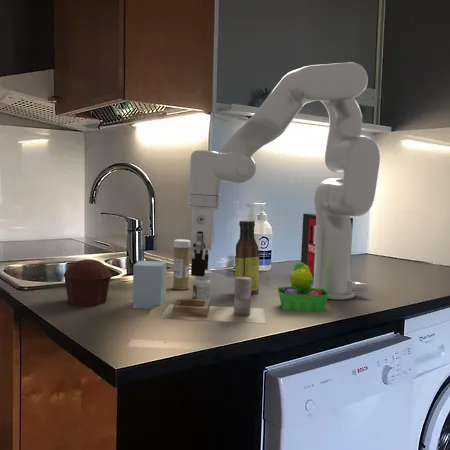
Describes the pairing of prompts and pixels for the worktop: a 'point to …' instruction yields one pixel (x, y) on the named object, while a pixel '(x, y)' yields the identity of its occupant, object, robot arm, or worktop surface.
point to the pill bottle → (202, 287)
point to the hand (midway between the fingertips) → (199, 272)
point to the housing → (149, 284)
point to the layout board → (205, 312)
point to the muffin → (87, 283)
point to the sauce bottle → (247, 255)
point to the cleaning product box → (310, 241)
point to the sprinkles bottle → (181, 264)
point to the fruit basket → (302, 292)
